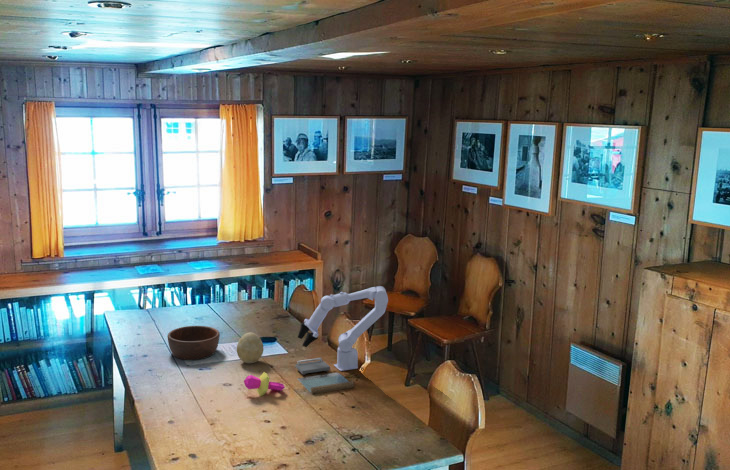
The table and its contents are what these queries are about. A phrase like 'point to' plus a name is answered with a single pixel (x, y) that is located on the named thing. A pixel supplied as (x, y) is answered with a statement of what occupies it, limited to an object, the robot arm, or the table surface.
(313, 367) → the cabinet door with handle
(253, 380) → the toy
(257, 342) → the fossilized egg
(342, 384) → the dock bay
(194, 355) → the wooden bowl
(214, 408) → the table surface
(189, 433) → the table surface
